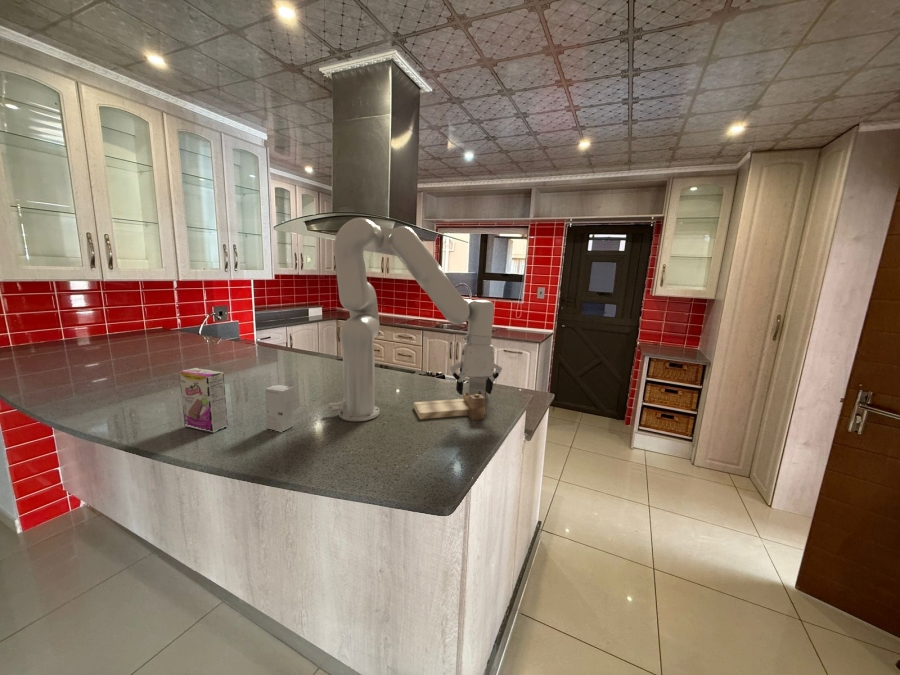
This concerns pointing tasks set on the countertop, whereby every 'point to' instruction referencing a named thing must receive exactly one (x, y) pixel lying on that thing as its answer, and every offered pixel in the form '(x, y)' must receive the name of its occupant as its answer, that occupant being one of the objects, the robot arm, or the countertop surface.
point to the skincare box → (279, 407)
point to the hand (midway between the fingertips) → (474, 392)
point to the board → (441, 408)
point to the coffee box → (478, 386)
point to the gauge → (475, 405)
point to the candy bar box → (203, 398)
